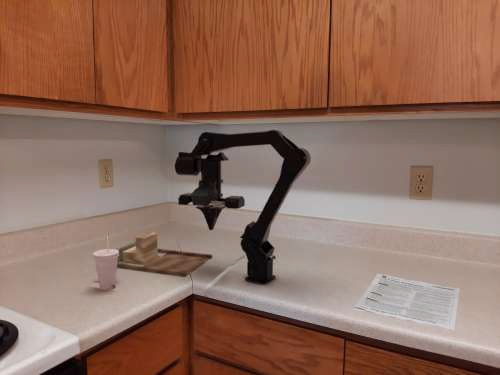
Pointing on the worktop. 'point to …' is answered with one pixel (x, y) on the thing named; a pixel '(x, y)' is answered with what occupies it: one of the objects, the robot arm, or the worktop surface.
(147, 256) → the step block
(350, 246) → the worktop surface
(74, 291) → the worktop surface
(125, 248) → the brown wooden tray
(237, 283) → the worktop surface
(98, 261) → the smoothie
